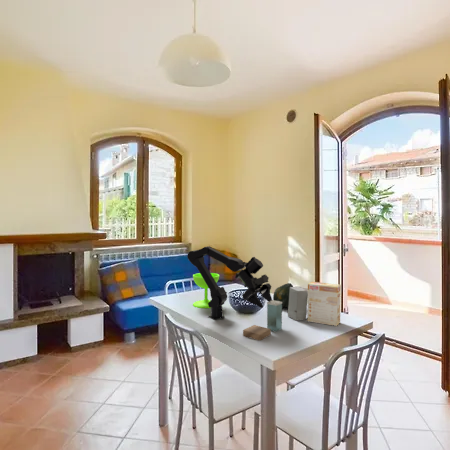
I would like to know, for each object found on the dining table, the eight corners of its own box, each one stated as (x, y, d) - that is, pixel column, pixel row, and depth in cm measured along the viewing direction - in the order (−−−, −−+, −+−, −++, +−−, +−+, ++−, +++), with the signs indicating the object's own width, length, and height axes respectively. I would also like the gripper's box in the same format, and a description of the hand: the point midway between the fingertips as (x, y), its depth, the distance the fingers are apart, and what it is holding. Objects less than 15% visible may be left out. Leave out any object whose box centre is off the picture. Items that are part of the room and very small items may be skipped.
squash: (264, 296, 199) (277, 280, 191) (282, 293, 208) (294, 278, 200) (276, 316, 191) (290, 300, 183) (294, 312, 200) (308, 297, 192)
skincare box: (287, 316, 177) (287, 287, 176) (298, 315, 179) (299, 286, 179) (296, 321, 169) (296, 290, 168) (308, 319, 171) (308, 289, 171)
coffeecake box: (340, 322, 167) (341, 284, 166) (337, 326, 161) (337, 286, 160) (311, 317, 175) (311, 281, 174) (307, 321, 169) (307, 283, 168)
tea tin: (266, 329, 157) (267, 302, 156) (272, 326, 161) (272, 300, 160) (276, 331, 153) (276, 304, 153) (281, 328, 157) (282, 301, 157)
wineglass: (214, 309, 190) (214, 278, 189) (188, 307, 194) (188, 276, 193) (222, 302, 205) (222, 273, 205) (198, 300, 209) (198, 272, 209)
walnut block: (243, 336, 148) (243, 329, 148) (254, 331, 155) (254, 324, 155) (260, 341, 143) (260, 334, 143) (270, 335, 150) (270, 329, 150)
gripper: (247, 272, 155) (267, 299, 148) (268, 267, 169) (287, 291, 163) (234, 286, 160) (253, 313, 153) (255, 280, 174) (273, 305, 168)
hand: (267, 305), depth 159 cm, fingers open, 9 cm apart
